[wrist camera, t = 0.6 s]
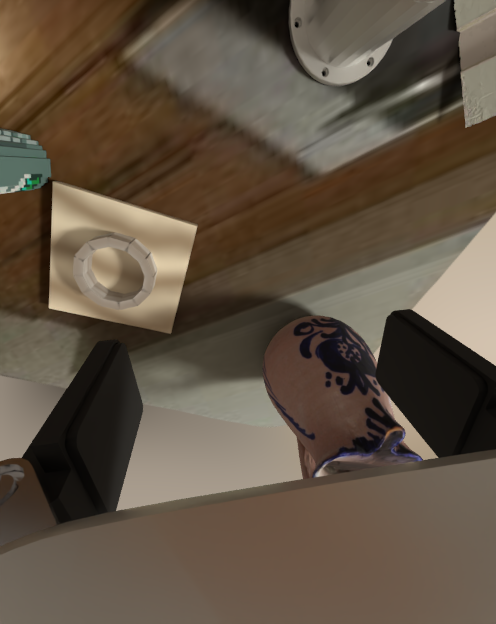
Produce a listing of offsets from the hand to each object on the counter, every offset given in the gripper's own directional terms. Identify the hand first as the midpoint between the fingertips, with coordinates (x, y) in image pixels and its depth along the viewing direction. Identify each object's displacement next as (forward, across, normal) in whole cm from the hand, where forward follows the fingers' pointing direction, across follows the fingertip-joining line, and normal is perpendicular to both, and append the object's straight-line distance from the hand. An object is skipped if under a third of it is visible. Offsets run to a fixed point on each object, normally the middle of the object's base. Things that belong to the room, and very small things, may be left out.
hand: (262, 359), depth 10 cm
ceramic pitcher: (+34, -13, +25) cm, 44 cm away
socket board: (+34, +15, +6) cm, 38 cm away
